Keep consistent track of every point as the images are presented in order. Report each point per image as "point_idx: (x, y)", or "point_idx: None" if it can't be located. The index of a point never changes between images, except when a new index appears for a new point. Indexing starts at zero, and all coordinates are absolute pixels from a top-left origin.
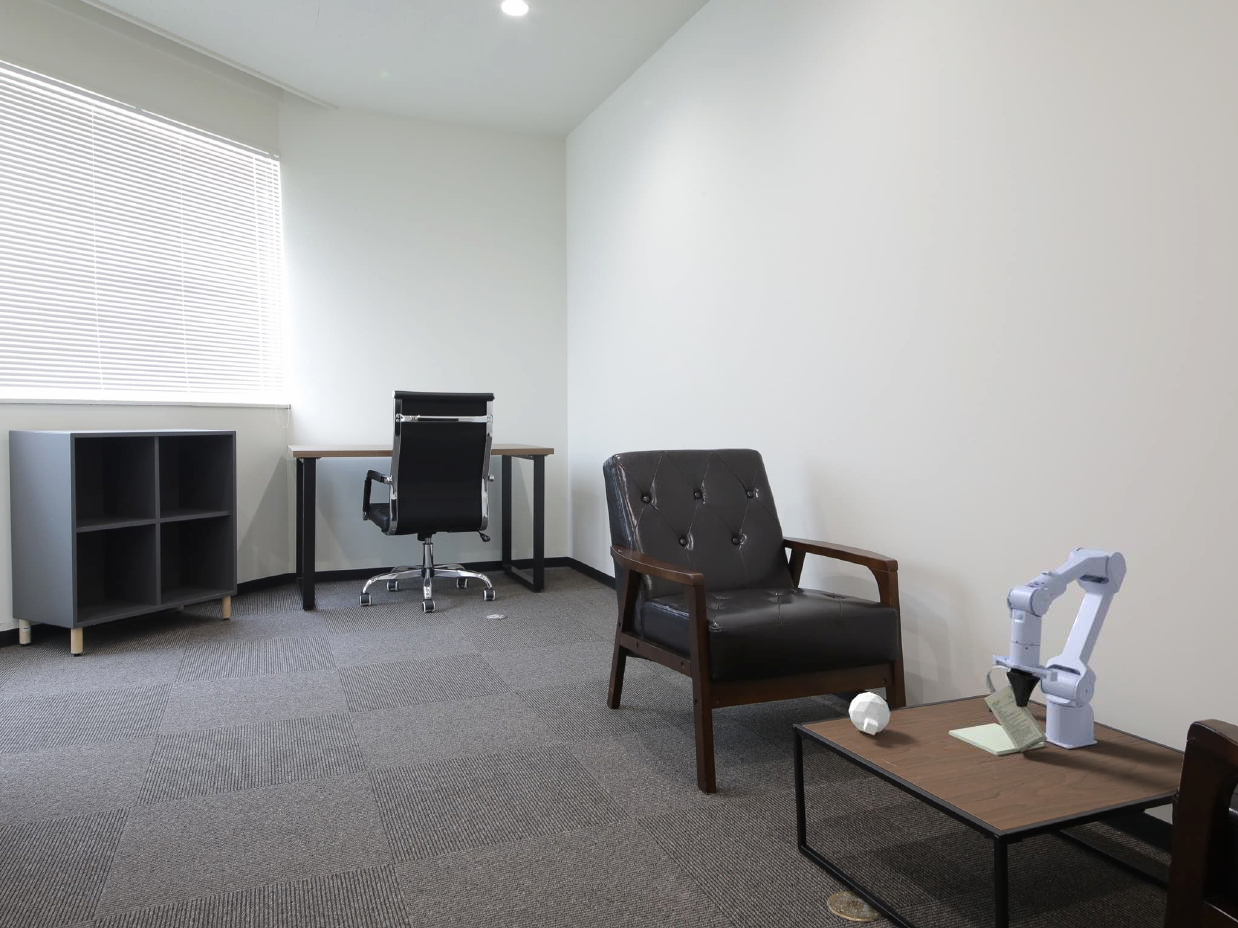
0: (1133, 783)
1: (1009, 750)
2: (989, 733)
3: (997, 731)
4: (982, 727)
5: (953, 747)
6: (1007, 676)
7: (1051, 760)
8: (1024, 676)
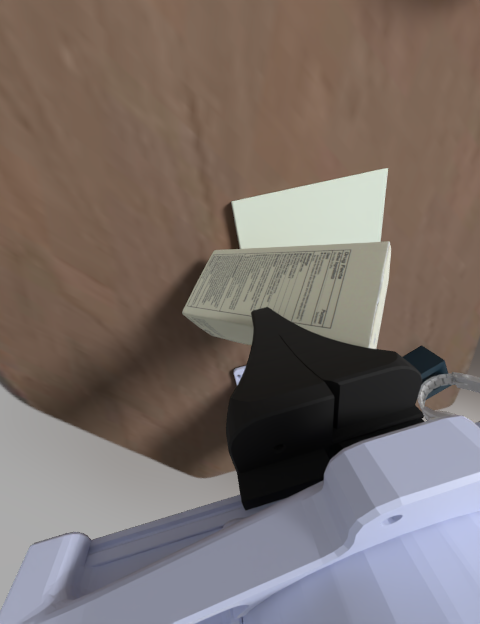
0: (68, 382)
1: (240, 246)
2: None
3: None
4: None
5: (307, 104)
6: (378, 350)
7: None
8: (235, 434)
